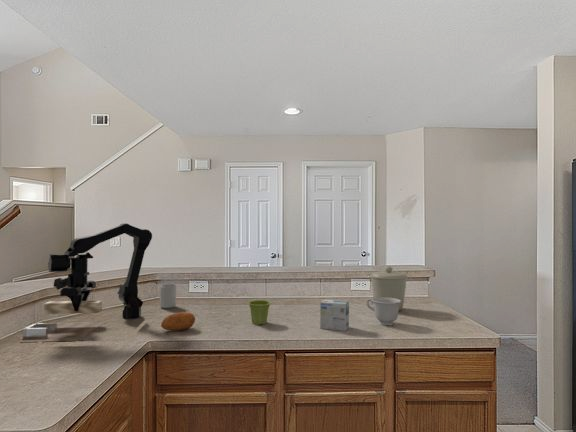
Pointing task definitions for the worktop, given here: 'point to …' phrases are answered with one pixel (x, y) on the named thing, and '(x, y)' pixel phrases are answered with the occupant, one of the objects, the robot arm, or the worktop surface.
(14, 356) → the worktop surface
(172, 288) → the can
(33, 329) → the cup bracket
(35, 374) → the worktop surface
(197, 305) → the worktop surface
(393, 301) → the teacup
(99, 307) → the rail
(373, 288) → the canister
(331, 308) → the light bulb box
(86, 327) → the mounting board
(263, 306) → the plant pot
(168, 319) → the potato
